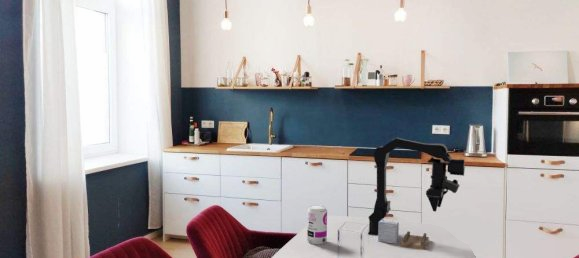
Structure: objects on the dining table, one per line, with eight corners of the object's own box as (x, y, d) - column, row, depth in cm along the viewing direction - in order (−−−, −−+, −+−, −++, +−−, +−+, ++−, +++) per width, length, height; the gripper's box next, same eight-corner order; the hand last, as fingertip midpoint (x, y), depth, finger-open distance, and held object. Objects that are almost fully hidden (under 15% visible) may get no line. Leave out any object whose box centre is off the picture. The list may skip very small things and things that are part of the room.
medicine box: (398, 241, 208) (399, 221, 207) (396, 244, 204) (396, 224, 203) (380, 238, 211) (380, 219, 211) (377, 241, 207) (378, 221, 206)
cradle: (400, 246, 201) (401, 239, 201) (405, 237, 213) (405, 231, 213) (425, 249, 198) (425, 242, 197) (428, 240, 210) (428, 233, 209)
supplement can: (328, 240, 208) (329, 206, 207) (323, 245, 200) (324, 210, 199) (310, 238, 211) (311, 204, 210) (304, 243, 203) (305, 208, 202)
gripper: (454, 178, 195) (452, 216, 196) (461, 172, 211) (459, 207, 212) (426, 175, 200) (424, 212, 201) (435, 169, 216) (434, 203, 218)
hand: (436, 209), depth 208 cm, fingers open, 9 cm apart
